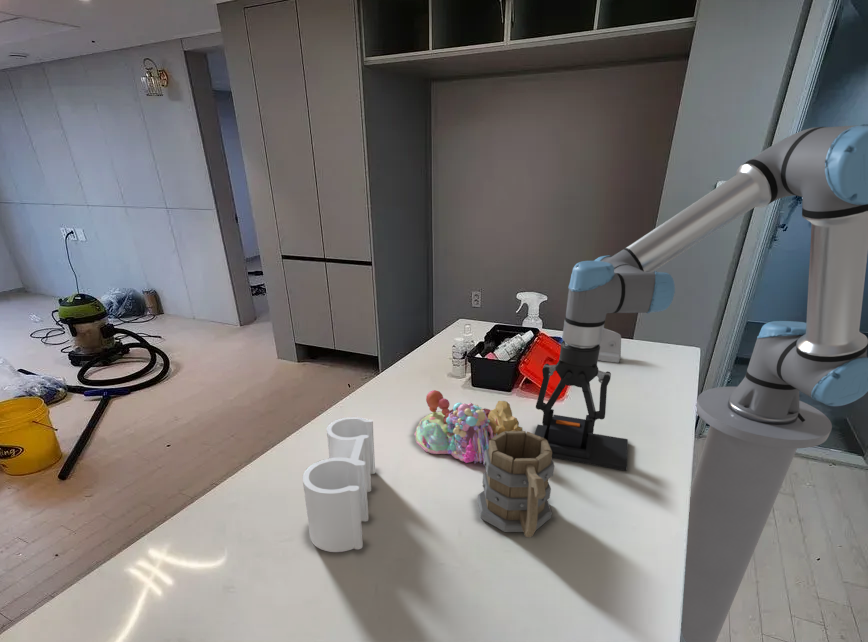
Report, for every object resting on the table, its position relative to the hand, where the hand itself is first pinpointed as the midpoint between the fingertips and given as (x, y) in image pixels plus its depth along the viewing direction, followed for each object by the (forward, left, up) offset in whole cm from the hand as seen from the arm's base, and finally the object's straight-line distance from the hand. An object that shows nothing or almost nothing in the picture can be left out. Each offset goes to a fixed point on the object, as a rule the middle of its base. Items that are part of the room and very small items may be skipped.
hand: (565, 440), depth 113 cm
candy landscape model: (+21, +4, -1) cm, 21 cm away
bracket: (+36, +36, -1) cm, 51 cm away
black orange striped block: (0, 0, 0) cm, 0 cm away
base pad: (-3, 0, -1) cm, 3 cm away
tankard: (+5, +30, -1) cm, 30 cm away
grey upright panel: (-2, -59, -1) cm, 59 cm away
